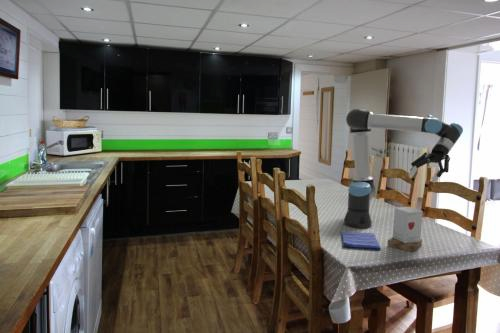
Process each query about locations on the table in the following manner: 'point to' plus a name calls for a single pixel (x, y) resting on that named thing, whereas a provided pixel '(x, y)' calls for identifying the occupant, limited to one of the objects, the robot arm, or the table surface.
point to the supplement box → (407, 224)
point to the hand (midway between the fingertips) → (420, 178)
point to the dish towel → (359, 240)
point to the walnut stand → (404, 244)
